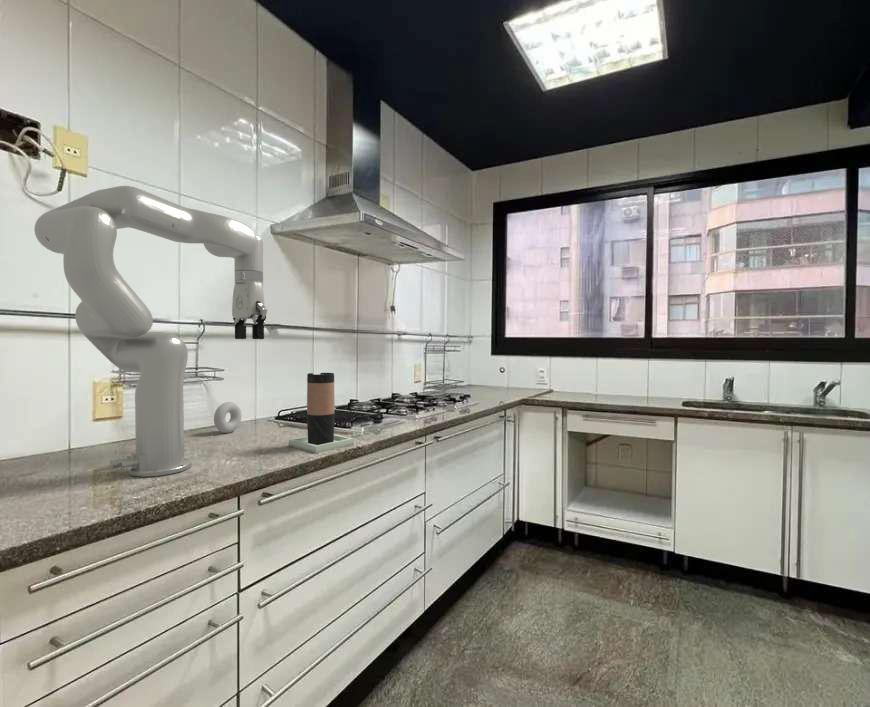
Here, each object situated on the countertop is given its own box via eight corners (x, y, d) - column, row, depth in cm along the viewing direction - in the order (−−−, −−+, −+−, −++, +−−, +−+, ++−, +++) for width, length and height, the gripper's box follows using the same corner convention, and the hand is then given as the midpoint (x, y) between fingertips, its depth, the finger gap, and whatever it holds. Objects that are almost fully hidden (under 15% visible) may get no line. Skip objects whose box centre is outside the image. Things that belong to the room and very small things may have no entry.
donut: (236, 429, 151) (235, 399, 151) (244, 430, 150) (243, 400, 150) (211, 435, 142) (211, 403, 142) (219, 436, 141) (219, 404, 140)
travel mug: (327, 447, 125) (327, 374, 124) (302, 445, 126) (301, 374, 126) (338, 441, 132) (338, 372, 132) (314, 439, 134) (314, 372, 133)
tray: (316, 453, 120) (316, 446, 120) (288, 445, 129) (288, 439, 129) (353, 444, 130) (353, 438, 130) (326, 438, 139) (325, 432, 139)
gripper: (221, 279, 131) (221, 338, 131) (252, 274, 120) (252, 339, 120) (246, 282, 137) (246, 339, 137) (277, 277, 126) (277, 339, 126)
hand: (249, 339), depth 129 cm, fingers open, 9 cm apart
